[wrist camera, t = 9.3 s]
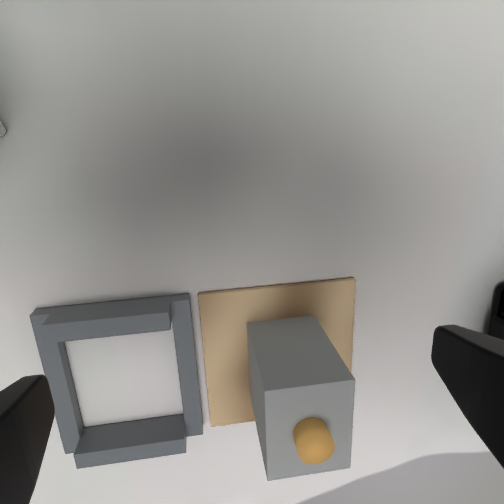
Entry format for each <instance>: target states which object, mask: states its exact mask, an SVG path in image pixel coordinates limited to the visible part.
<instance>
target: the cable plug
mask: <svg viewBox="0 0 504 504" xmlns="http://www.w3.org/2000/svg"><path fill="white" fill-rule="evenodd" d="M247 343H248V363H249V383H250V397H251V402H252V407H253V412H254V417H255V422H256V426H257V431H258V436H259V441H260V446H261V451H262V456H263V461H264V466H265V470H266V475H267V480H268V481H270V480H277V479H283V478H289V477H296V476H302V475H308V474H315V473H321V472H328V471H334V470H340V469H347V468H350V463H351V445H352V427H353V410H354V392H355V379H354V377H353V375H352V374H351V372H350V371H349V369H348V368H347V366H346V364H345V363H344V361H343V360H342V358H341V357H340V355H339V353H338V352H337V350H336V349H335V347H334V346H333V344H332V342H331V341H330V339H329V338H328V336H327V335H326V333H325V331H324V330H323V328H322V327H321V325H320V324H319V322H318V320H317V319H316V317H315V316H314V315H313V316H304V317H294V318H285V319H275V320H266V321H256V322H247Z"/></svg>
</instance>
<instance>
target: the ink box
mask: <svg viewBox="0 0 504 504" xmlns="http://www.w3.org/2000/svg"><path fill="white" fill-rule="evenodd" d="M5 134H6V129H5V127H4V126H3V124H2V122H1V120H0V137H1V136H3V135H5Z"/></svg>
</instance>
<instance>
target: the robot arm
mask: <svg viewBox="0 0 504 504" xmlns="http://www.w3.org/2000/svg"><path fill="white" fill-rule="evenodd" d="M431 359H432V363H433V365H434V367H435V369H436V371H437V372H438V374H439V375H440V377H441V379H442V380H443V382H444V384H445V385H446V387H447V388H448V390H449V392H450V393H451V395H452V397H453V398H454V400H455V401H456V403H457V405H458V406H459V408H460V409H461V411H462V413H463V414H464V416H465V417H466V419H467V420H468V422H469V423H470V424H471V426H472V427H473V429H474V430H475V431H476V433H477V434H478V435H479V437H480V438H481V439H482V441H483V442H484V443H485V445H486V446H487V447H488V449H489V450H490V451H491V452H492V454H493V455H494V456H495V458H496V459H497V460H498V462H499V463H500V464H501V466H502V467H503V468H504V283H502V284H500V285H499V286H498V287H497V290H496V294H495V299H494V305H493V311H492V317H491V322H490V328H489V334H488V335H486V334H482V333H479V332H476V331H473V330H470V329H466V328H463V327H460V326H457V325H445V326H438V327H437V328H436V329H435V331H434V337H433V345H432V353H431ZM54 415H55V406H54V401H53V398H52V394H51V390H50V386H49V382H48V379H47V378H46V376H44V375H32V376H25V377H22V378H21V379H19V380H18V381H16V382H14V383H13V384H11V385H10V386H8V387H7V388H5V389H3V390H2V391H0V504H29V502H30V499H31V497H32V494H33V491H34V488H35V485H36V482H37V478H38V475H39V471H40V468H41V464H42V460H43V457H44V453H45V449H46V446H47V442H48V438H49V435H50V431H51V427H52V423H53V420H54Z"/></svg>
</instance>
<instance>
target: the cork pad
mask: <svg viewBox="0 0 504 504" xmlns="http://www.w3.org/2000/svg"><path fill="white" fill-rule="evenodd" d="M355 281H356V280H355V279H354V278H345V279H335V280H324V281H314V282H304V283H294V284H284V285H273V286H263V287H253V288H243V289H233V290H223V291H212V292H202V293H198V299H199V309H200V319H201V329H202V340H203V350H204V360H205V370H206V381H207V391H208V401H209V411H210V421H211V427H215V426H222V425H229V424H236V423H243V422H250V421H255V417H254V412H253V407H252V402H251V397H250V383H249V363H248V343H247V322H256V321H266V320H275V319H285V318H294V317H304V316H313V315H314V316H315V317H316V319H317V320H318V322H319V324H320V325H321V327H322V328H323V330H324V331H325V333H326V335H327V336H328V338H329V339H330V341H331V342H332V344H333V346H334V347H335V349H336V350H337V352H338V353H339V355H340V357H341V358H342V360H343V361H344V363H345V364H346V366H347V368H348V369H349V371H350V372H351V368H352V346H353V324H354V303H355Z"/></svg>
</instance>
